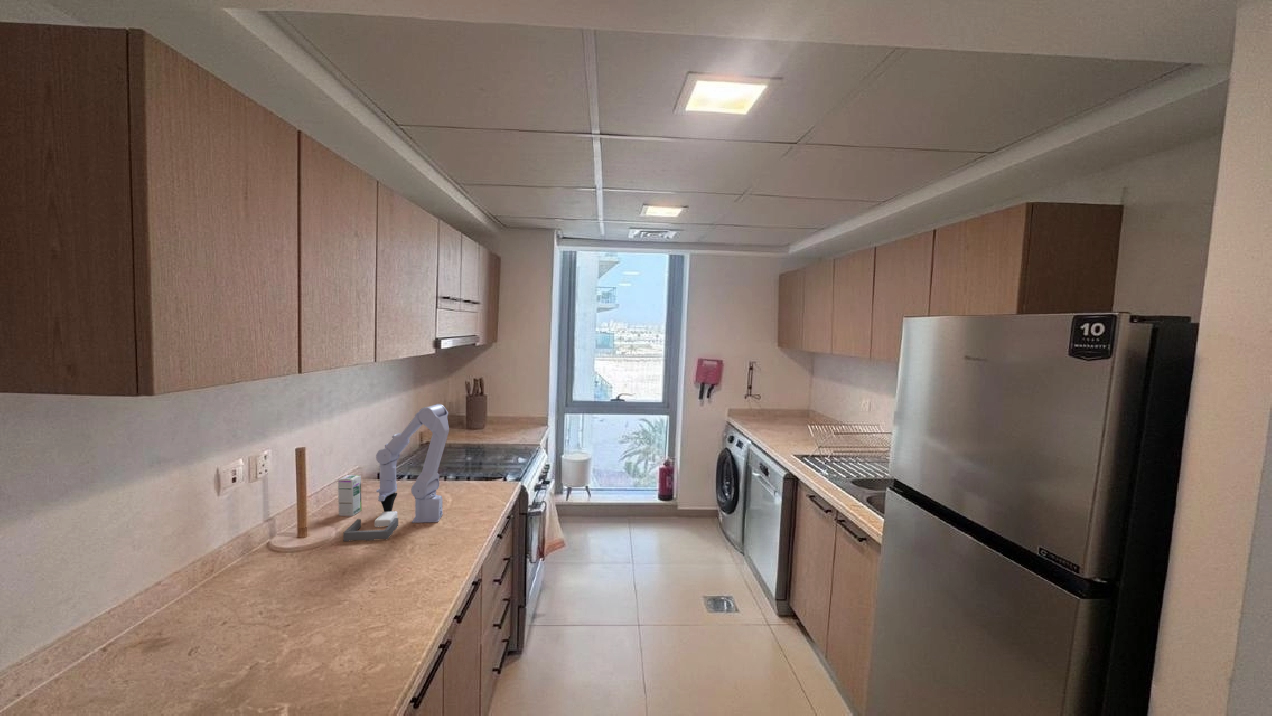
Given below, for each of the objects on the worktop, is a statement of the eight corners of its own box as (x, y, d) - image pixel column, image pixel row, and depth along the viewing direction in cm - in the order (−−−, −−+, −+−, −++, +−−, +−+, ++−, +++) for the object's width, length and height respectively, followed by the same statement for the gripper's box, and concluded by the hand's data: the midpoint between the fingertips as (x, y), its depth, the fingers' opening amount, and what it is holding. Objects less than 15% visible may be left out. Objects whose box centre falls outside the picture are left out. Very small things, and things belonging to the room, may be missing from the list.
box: (398, 525, 179) (398, 518, 178) (387, 539, 167) (387, 531, 167) (357, 527, 176) (357, 519, 176) (343, 541, 165) (343, 532, 165)
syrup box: (353, 516, 186) (352, 479, 185) (337, 515, 186) (337, 478, 185) (361, 510, 192) (361, 474, 191) (347, 510, 192) (346, 474, 191)
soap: (390, 527, 178) (390, 519, 177) (373, 528, 177) (373, 520, 177) (398, 518, 186) (397, 510, 186) (382, 518, 186) (382, 510, 185)
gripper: (383, 473, 194) (383, 506, 194) (369, 484, 179) (369, 520, 180) (402, 472, 195) (402, 505, 196) (389, 484, 180) (389, 520, 181)
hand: (388, 512), depth 188 cm, fingers closed
